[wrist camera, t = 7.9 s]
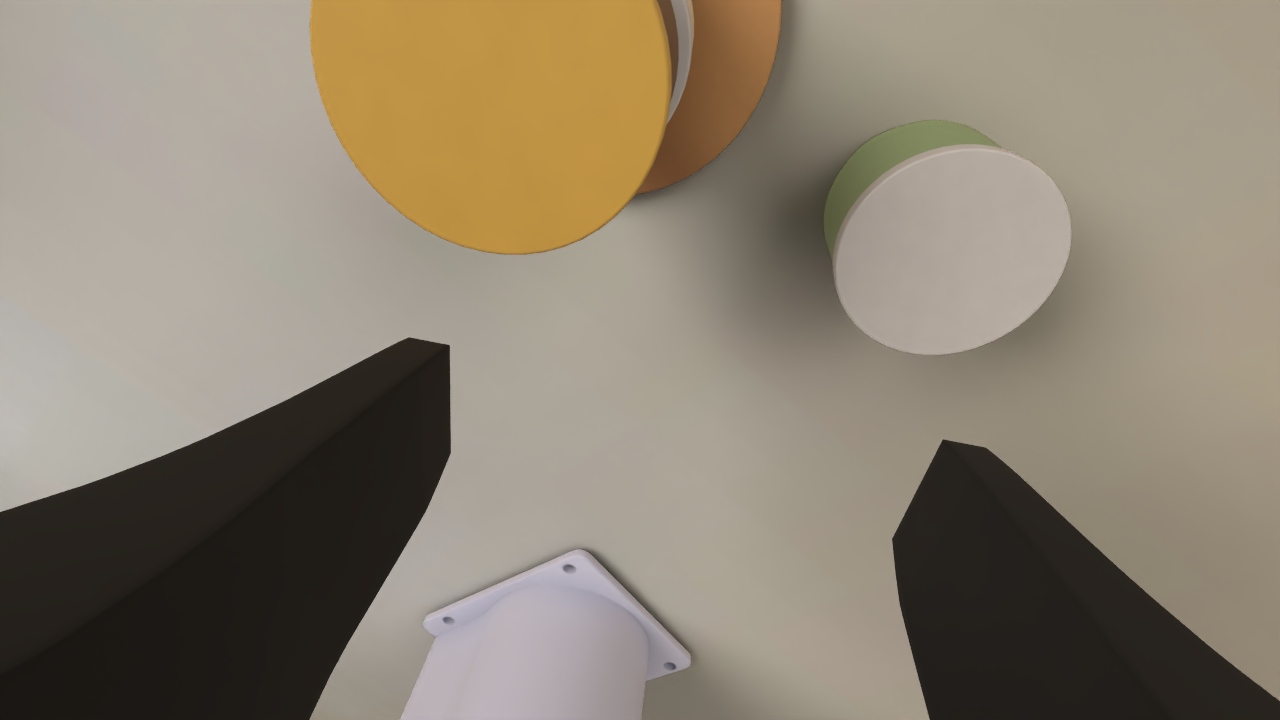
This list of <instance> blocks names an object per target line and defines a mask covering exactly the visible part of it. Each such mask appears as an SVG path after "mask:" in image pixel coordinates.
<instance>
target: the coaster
mask: <svg viewBox="0 0 1280 720" xmlns="http://www.w3.org/2000/svg"><path fill="white" fill-rule="evenodd" d="M691 1H692V6H693V14H694V39H693V47H692V55H691V63H690V70H689V74H688V78H687V82H686V86H685V88H684V91H683V94H682V96H681V99H680V102H679V104H678V106H677V108H676V110H675V112H674V113H673V115H672V117H671V119H670V120H669V122H668V123H667V125H666V128H665V133H664V137H663V139H662V142H661V145H660V147H659V150H658V153H657V155H656V158H655V161H654V163H653V165H652V167H651V169H650V171H649V173H648V175H647V177H646V179H645V180H644V182H643V184H642V185H641V187H640V188H639V190H638V191H637V192H636V194H642V193H647V192H650V191H654V190H658V189H661V188H664V187H667V186H669V185H672V184H674V183H676V182H679V181H681V180H683V179H685V178H686V177H688V176H690V175H692V174H693V173H695V172H697V171H698V170H700V169H701V168H703V167H704V166H705V165H707V164H708V163H709V162H710V161H712V160H713V159H714V158H716V157H717V156H718V155H719V154H720V153H721V152H722V151H723V150H724V149H725V148H726V147H727V146H728V145H729V144H730V143H731V142H732V141H733V140H734V138H735V137H736V136H737V134H738V133H739V132H740V131H741V129H742V128H743V127H744V125H745V124H746V123H747V121H748V119H749V118H750V116H751V114H752V113H753V111H754V109H755V108H756V106H757V104H758V103H759V100H760V98H761V96H762V94H763V91H764V89H765V87H766V85H767V82H768V80H769V77H770V73H771V70H772V67H773V64H774V60H775V57H776V52H777V46H778V41H779V35H780V27H781V11H782V0H691Z"/></svg>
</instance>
